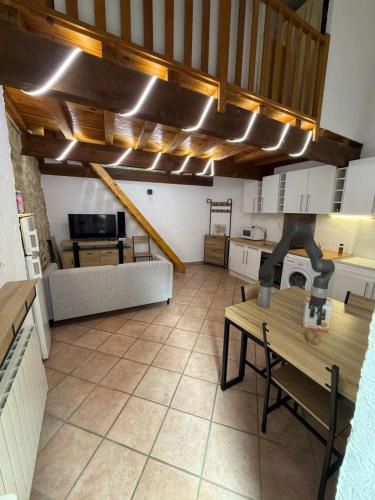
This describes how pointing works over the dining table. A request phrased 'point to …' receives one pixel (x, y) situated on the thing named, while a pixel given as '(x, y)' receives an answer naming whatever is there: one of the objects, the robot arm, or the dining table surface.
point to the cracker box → (311, 322)
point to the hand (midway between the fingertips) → (314, 321)
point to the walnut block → (312, 336)
